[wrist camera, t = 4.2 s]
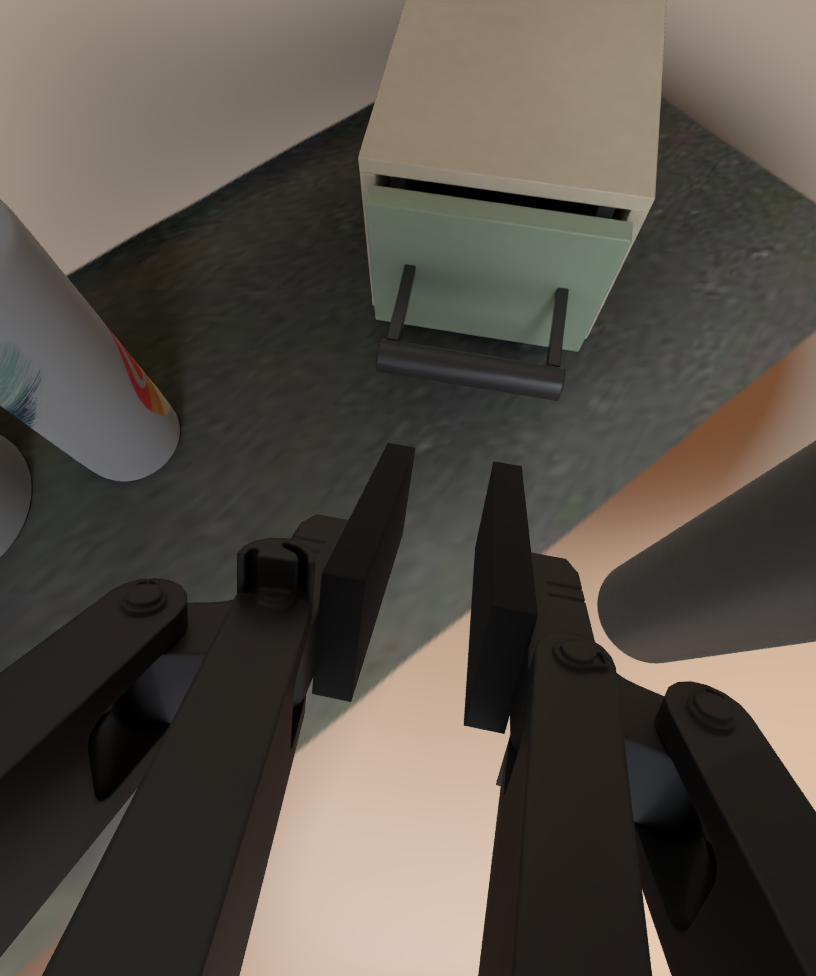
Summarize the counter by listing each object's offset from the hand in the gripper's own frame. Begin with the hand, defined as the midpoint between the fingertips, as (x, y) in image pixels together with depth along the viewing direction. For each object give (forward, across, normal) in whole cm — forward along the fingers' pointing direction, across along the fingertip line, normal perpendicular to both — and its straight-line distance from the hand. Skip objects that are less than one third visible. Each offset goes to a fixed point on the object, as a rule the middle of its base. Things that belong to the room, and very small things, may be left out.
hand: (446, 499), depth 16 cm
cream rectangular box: (+28, 0, +7) cm, 29 cm away
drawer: (+24, 0, +4) cm, 24 cm away
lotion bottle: (+15, -18, -7) cm, 25 cm away
